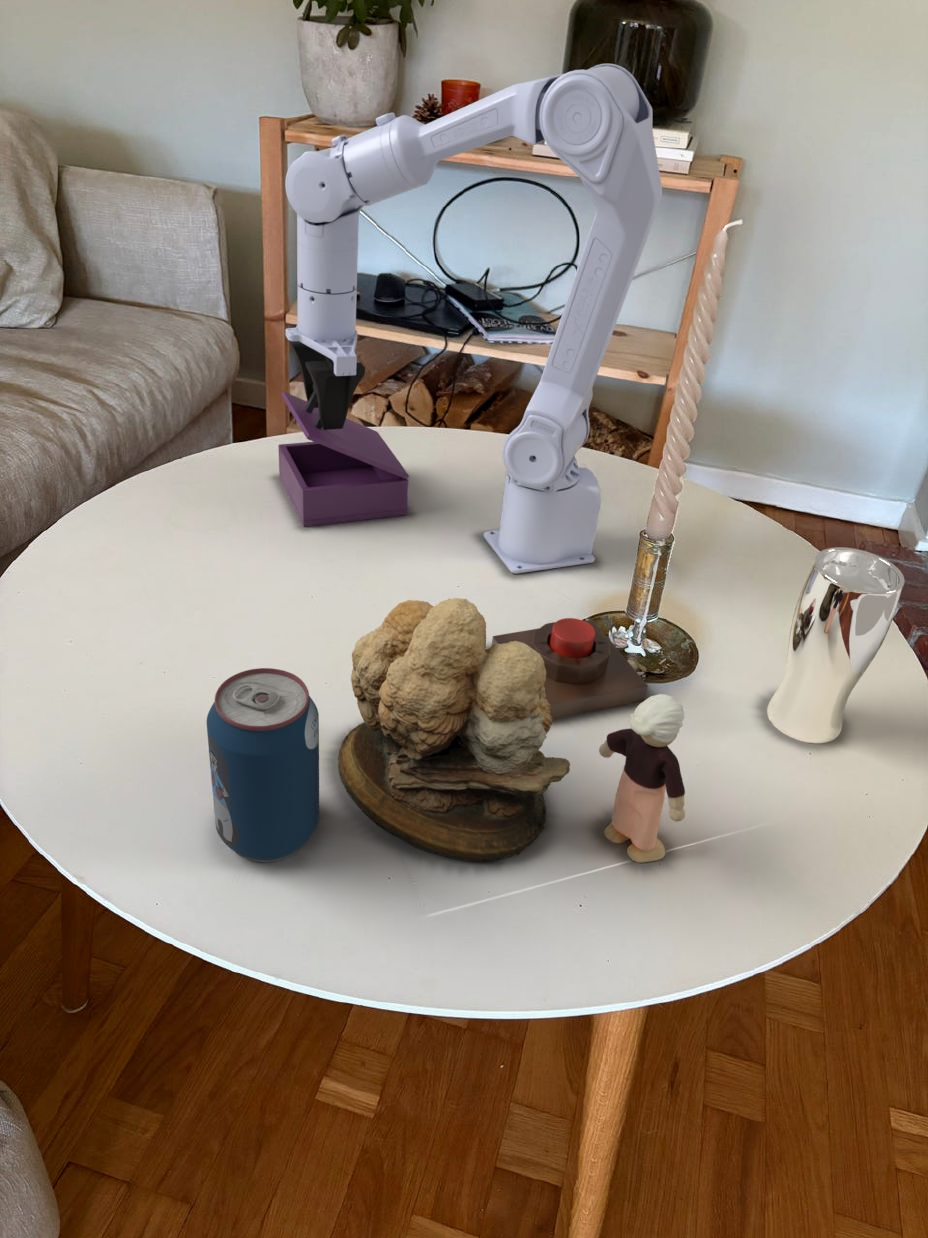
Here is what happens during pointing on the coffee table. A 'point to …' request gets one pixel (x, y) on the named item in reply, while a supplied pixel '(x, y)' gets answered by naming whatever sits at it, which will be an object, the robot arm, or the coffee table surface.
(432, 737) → the tan rock sculpture
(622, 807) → the grandmother figurine
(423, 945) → the coffee table surface
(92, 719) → the coffee table surface
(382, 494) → the box
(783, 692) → the beer glass
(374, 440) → the purple flat piece
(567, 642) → the button
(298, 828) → the soda can
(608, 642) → the button block
